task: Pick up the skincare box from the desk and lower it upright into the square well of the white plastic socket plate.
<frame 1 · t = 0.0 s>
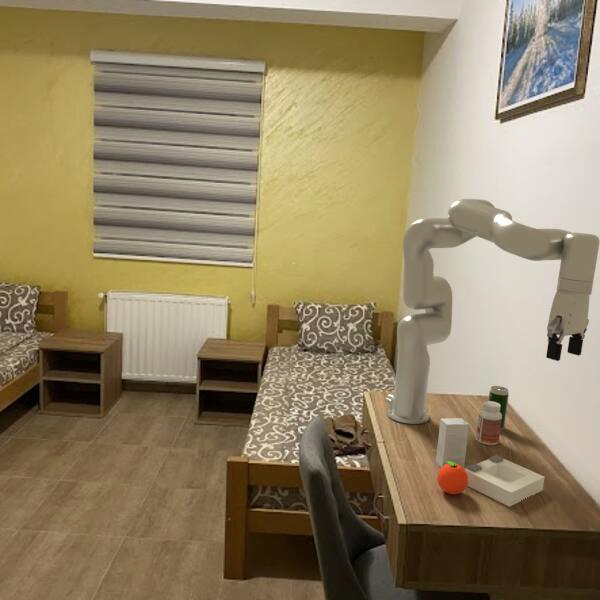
hand: (563, 356, 150), 31 cm above the table, tool pointing down, fingers open, 9 cm apart
skincare box: (449, 466, 159), on the table
socket plate: (501, 486, 150), on the table
clementine: (449, 492, 146), on the table
beer can: (494, 427, 187), on the table
pill bottle: (486, 441, 176), on the table
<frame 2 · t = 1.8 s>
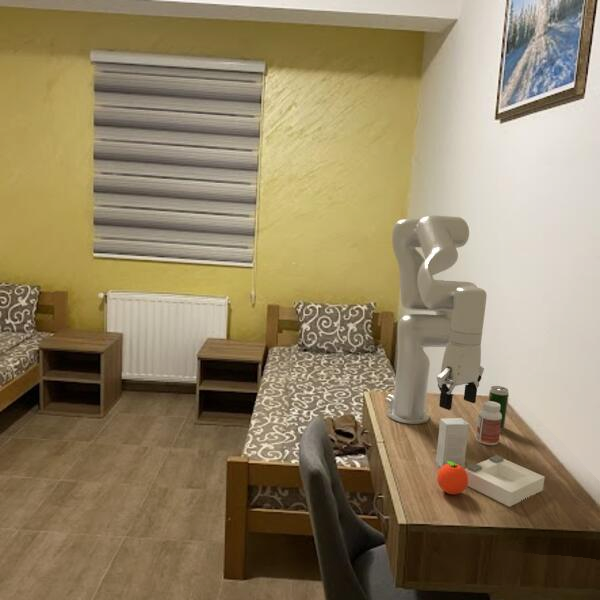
hand: (457, 404, 156), 16 cm above the table, tool pointing down, fingers open, 9 cm apart
nothing on the table moved.
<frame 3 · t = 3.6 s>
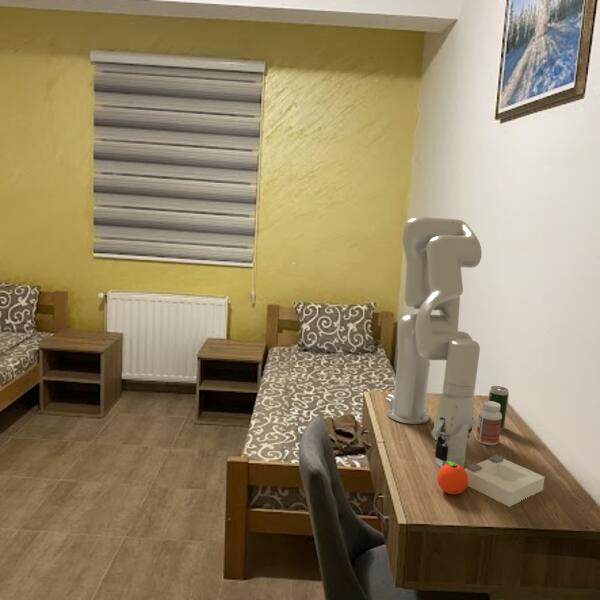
hand: (450, 455, 159), 3 cm above the table, tool pointing down, fingers closed on skincare box, 7 cm apart
skincare box: (449, 466, 159), on the table, touching gripper
everything else where it was.
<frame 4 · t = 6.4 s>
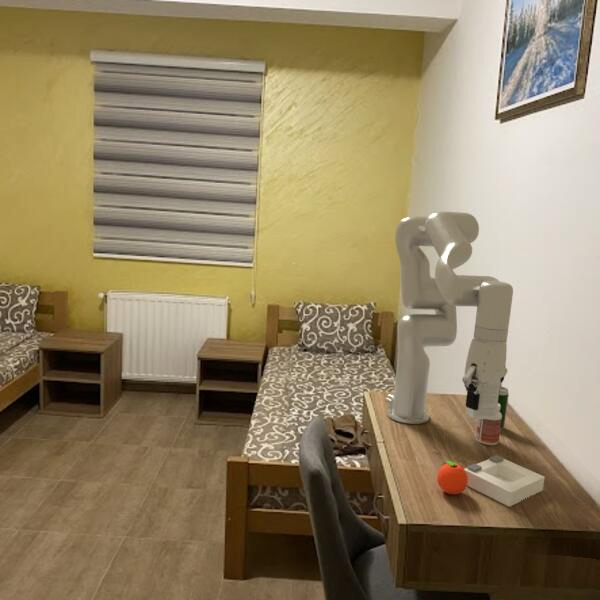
hand: (481, 405, 151), 18 cm above the table, tool pointing down, fingers closed on skincare box, 7 cm apart
skincare box: (480, 417, 152), point 15 cm above the table, touching gripper
everything else where it was.
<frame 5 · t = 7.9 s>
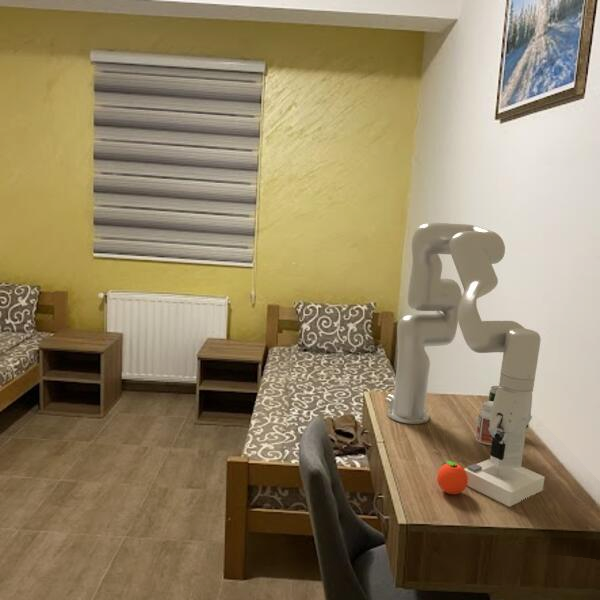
hand: (506, 453, 148), 8 cm above the table, tool pointing down, fingers closed on skincare box, 7 cm apart
skincare box: (504, 465, 149), point 5 cm above the table, touching gripper
everything else where it was.
when the fingers open (5 cm above the table, at t = 9.1 s): skincare box drops 2 cm, resting on socket plate.
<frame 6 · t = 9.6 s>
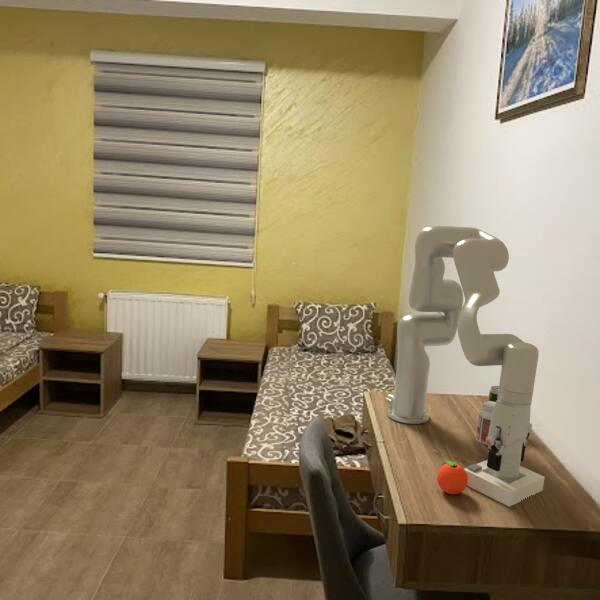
hand: (505, 464, 149), 6 cm above the table, tool pointing down, fingers open, 9 cm apart
skincare box: (500, 485, 150), resting on socket plate
everything else where it was.
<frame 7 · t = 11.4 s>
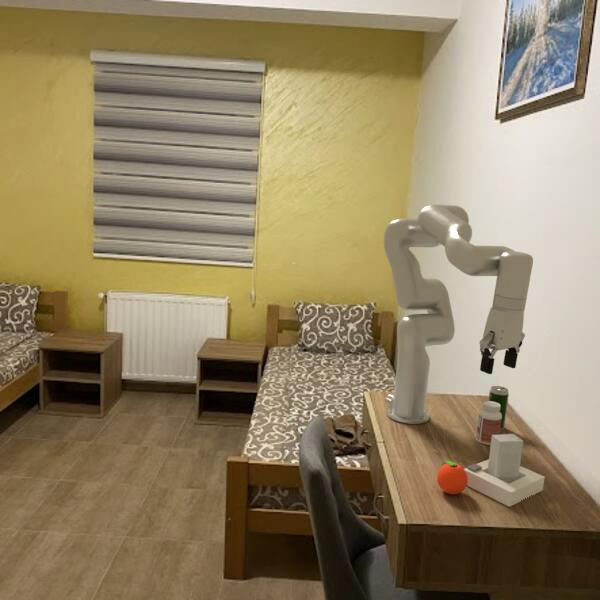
hand: (497, 369, 156), 25 cm above the table, tool pointing down, fingers open, 9 cm apart
nothing on the table moved.
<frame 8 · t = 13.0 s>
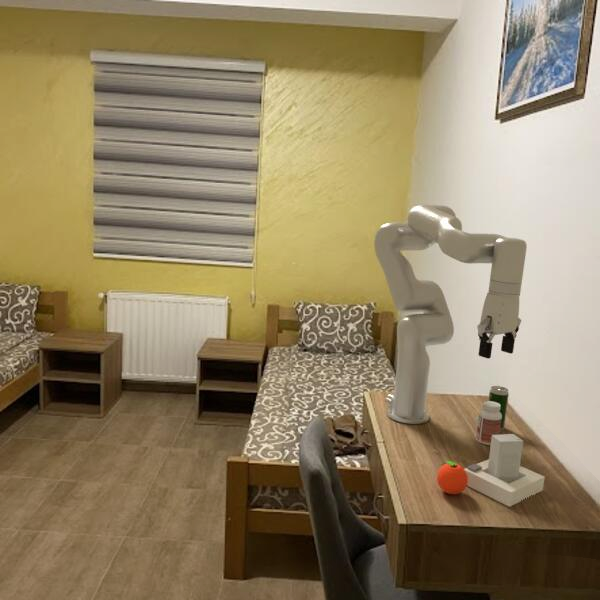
hand: (495, 354, 159), 28 cm above the table, tool pointing down, fingers open, 9 cm apart
nothing on the table moved.
at the end: skincare box 0.3 cm off-centre on the socket plate, point 0.3 cm above the socket plate's base; skincare box tilted 0°; the gripper is holding nothing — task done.
